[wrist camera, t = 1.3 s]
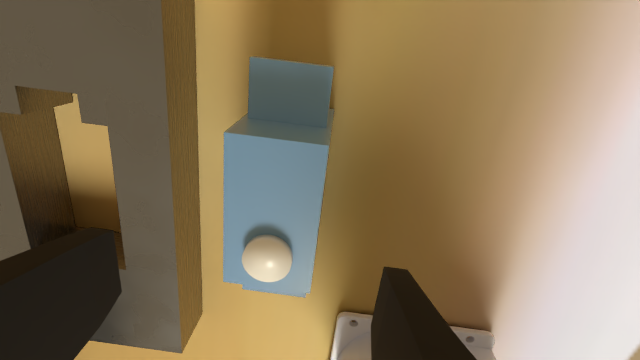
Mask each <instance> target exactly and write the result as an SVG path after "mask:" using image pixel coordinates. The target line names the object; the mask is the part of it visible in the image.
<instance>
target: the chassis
mask: <svg viewBox="0 0 640 360" xmlns="http://www.w3.org/2000/svg"><path fill="white" fill-rule="evenodd" d="M71 93H76V94H77V95H78V101H79V108H80V114H81V120H82V123H89V124H96V125H104V126H108V133H109V140H110V148H111V156H112V164H113V171H114V179H115V187H116V195H117V202H118V210H119V218H120V226H121V233H116V232H114V238H115V246H116V253H117V260H118V267H119V274H120V281H121V288H122V292H121V294H120V296H119V297H118V299H117V301H116V302H115V304H114V306H113V307H112V309H111V311H110V312H109V314H108V315H107V317H106V318H105V320H104V321H103V323H102V324H101V326H100V327H99V329H98V330H97V331H96V332H95V334H94V335H93V336H92V337H91V339H90V341H97V342H104V343H111V344H119V345H126V346H133V347H140V348H147V349H154V350H161V351H168V352H176V353H182V352H183V350H184V348H185V346H186V344H187V342H188V340H189V338H190V336H191V335H192V333H193V331H194V329H195V327H196V325H197V323H198V321H199V319H200V317H201V315H202V287H201V248H200V210H199V171H198V133H197V94H196V55H195V17H194V0H0V261H1V260H4V259H6V258H9V257H11V256H14V255H16V254H19V253H22V252H24V251H27V250H29V249H32V248H35V247H37V246H40V245H42V244H45V243H47V242H50V241H53V240H55V239H58V238H61V237H63V236H66V235H69V234H72V233H75V232H78V231H81V230H84V229H87V228H79V227H75V222H74V217H73V212H72V206H71V201H70V196H69V190H68V185H67V180H66V174H65V169H64V164H63V159H62V153H61V148H60V143H59V137H58V132H57V127H56V121H55V116H54V111H53V107H55V106H60V105H64V104H68V103H72V102H73V100H72V94H71Z"/></svg>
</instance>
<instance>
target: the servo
mask: <svg viewBox="0 0 640 360" xmlns="http://www.w3.org/2000/svg"><path fill="white" fill-rule="evenodd" d="M333 72H334V66H330V65H322V64H314V63H306V62H298V61H290V60H282V59H274V58H266V57H258V56H252V57H250V66H249V98H248V113H247V114H246V115H245V116H244V117H242V118H241V119H240V120H239V121H237V122H236V123H235V124H234V125H232V126H231V127H230V128H229V129H227V130H226V131H225V132H224V247H223V282H229V283H237V284H243V288H242V289H246V290H253V291H261V292H268V293H275V294H283V295H290V296H297V297H306V293H310V290H311V283H312V276H313V268H314V261H315V253H316V246H317V239H318V231H319V224H320V217H321V209H322V201H323V193H324V186H325V178H326V170H327V162H328V155H329V147H330V139H331V131H332V124H333V116H334V109H331V108H329V104H330V96H331V88H332V80H333Z"/></svg>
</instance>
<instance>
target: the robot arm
mask: <svg viewBox="0 0 640 360" xmlns="http://www.w3.org/2000/svg"><path fill="white" fill-rule="evenodd" d="M121 292H122V288H121V281H120V274H119V267H118V260H117V253H116V246H115V238H114V231H113V230H107V229H99V228H92V227H91V228H87V229H84V230H81V231H78V232H75V233H72V234H69V235H66V236H63V237H61V238H58V239H55V240H53V241H50V242H47V243H45V244H42V245H40V246H37V247H35V248H32V249H29V250H27V251H24V252H22V253H19V254H16V255H14V256H11V257H9V258H6V259H4V260H1V261H0V360H74V358H75V357H76V356H77V355H78V353H79V352H80V351H81V350H82V348H83V347H84V346H85V345H86V344H87V342H88V341H89V340H90V339H91V337H92V336H93V335H94V334H95V332H96V331H97V330H98V329H99V327H100V326H101V324H102V323H103V321H104V320H105V318H106V317H107V315H108V314H109V312H110V311H111V309H112V307H113V306H114V304H115V302H116V301H117V299H118V297H119V296H120V294H121ZM352 320H355V322H352ZM468 336H471V337H468ZM494 343H495V339H494V336H493V334H492V333H491V332H489V331H483V330H476V329H469V328H461V327H454V326H449V325H448V324H447V323H446V321H445V320H444V319H443V317H442V316H441V315H440V313H439V312H438V311H437V310H436V308H435V307H434V305H433V304H432V303H431V301H430V300H429V299H428V297H427V296H426V295H425V293H424V292H423V290H422V289H421V288H420V286H419V285H418V284H417V282H416V281H415V279H414V278H413V277H412V275H411V274H410V273H409V271H408V270H405V269H398V268H390V267H384V269H383V273H382V278H381V282H380V287H379V291H378V295H377V300H376V304H375V309H374V313H373V315H367V314H359V313H352V312H341V313H340V314H338V316H337V321H336V327H335V333H334V339H333V344H332V350H331V356H330V360H496V358H495V356H494V354H493V352H492V348H493V345H494Z"/></svg>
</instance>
